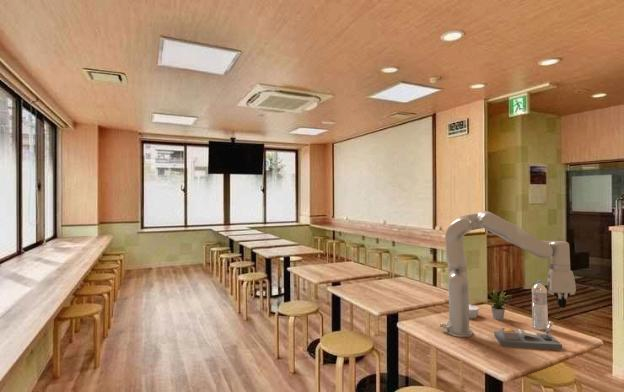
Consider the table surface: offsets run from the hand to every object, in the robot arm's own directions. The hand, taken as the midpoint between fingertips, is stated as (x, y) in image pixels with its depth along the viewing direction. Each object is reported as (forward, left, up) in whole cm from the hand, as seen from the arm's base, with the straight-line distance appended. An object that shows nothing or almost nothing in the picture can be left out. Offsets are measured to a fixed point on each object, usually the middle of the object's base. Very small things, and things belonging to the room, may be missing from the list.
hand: (561, 306), depth 164 cm
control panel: (-15, 0, -18) cm, 24 cm away
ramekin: (-34, +35, -18) cm, 52 cm away
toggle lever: (-7, 0, -14) cm, 15 cm away
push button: (-23, 0, -15) cm, 27 cm away
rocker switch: (-15, 0, -14) cm, 20 cm away
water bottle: (-2, +20, -18) cm, 27 cm away
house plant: (-19, +31, -18) cm, 41 cm away
